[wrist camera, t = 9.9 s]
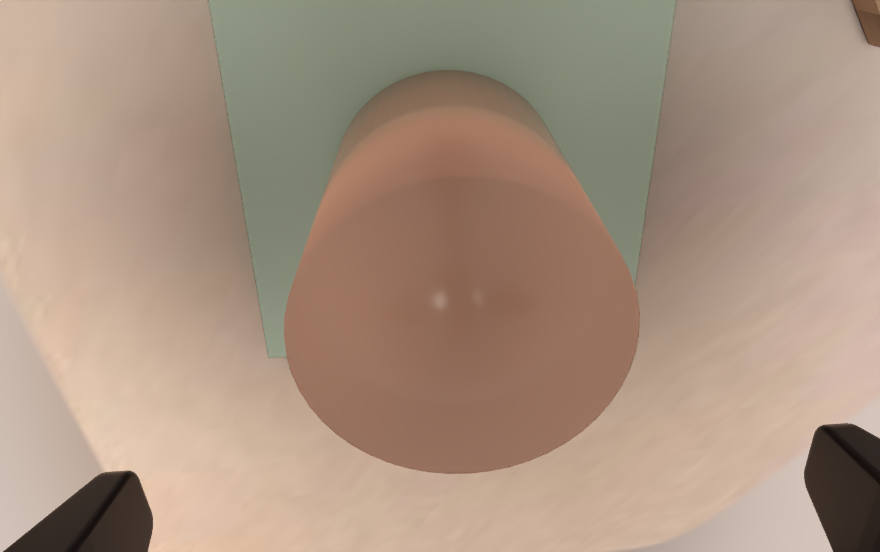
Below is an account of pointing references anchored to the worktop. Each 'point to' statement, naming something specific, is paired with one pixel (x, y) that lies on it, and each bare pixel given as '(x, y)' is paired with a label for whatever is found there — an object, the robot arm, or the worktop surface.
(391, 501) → the worktop surface
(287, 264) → the sage mat
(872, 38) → the walnut collar
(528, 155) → the peach round cylinder
